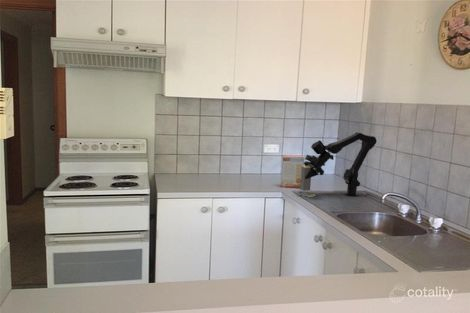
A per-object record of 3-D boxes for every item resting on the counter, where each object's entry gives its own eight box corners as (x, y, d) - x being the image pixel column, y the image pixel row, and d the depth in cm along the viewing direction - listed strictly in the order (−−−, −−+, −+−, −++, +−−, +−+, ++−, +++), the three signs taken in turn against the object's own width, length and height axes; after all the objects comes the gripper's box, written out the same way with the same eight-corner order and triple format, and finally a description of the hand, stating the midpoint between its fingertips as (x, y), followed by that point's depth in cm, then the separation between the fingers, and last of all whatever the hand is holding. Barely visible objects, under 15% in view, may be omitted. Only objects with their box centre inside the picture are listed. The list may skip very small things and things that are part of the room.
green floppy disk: (303, 193, 262) (303, 192, 262) (315, 195, 258) (315, 194, 258) (299, 195, 256) (299, 194, 256) (311, 197, 252) (311, 196, 252)
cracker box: (301, 186, 284) (303, 155, 281) (302, 188, 278) (304, 156, 275) (280, 185, 283) (282, 154, 280) (281, 187, 277) (283, 155, 274)
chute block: (307, 188, 259) (308, 165, 257) (310, 190, 254) (311, 167, 252) (300, 188, 258) (301, 165, 256) (303, 190, 253) (304, 167, 251)
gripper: (307, 148, 262) (289, 165, 261) (320, 152, 245) (301, 171, 243) (318, 160, 266) (300, 178, 264) (332, 165, 248) (313, 184, 247)
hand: (303, 177), depth 255 cm, fingers closed on chute block, 4 cm apart
